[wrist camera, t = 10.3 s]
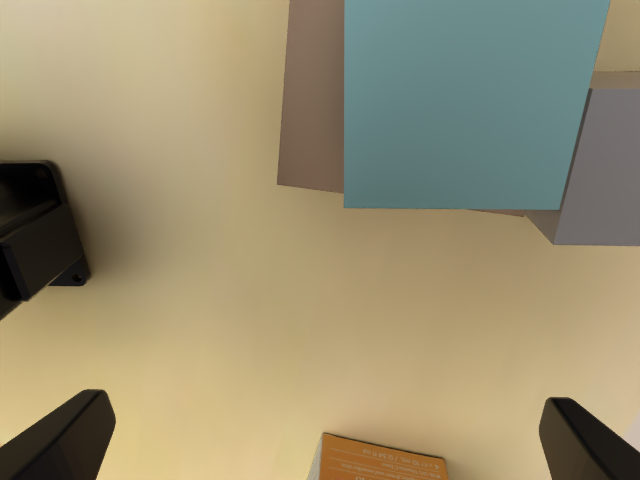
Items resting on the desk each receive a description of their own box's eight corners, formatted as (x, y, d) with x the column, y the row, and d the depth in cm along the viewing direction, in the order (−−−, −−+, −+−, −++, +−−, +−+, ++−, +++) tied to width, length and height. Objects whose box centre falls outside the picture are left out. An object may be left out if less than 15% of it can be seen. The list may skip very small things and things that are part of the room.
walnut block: (291, 154, 19) (277, 184, 15) (312, -95, 15) (299, -133, 11) (491, 180, 19) (523, 216, 15) (566, -63, 15) (634, -92, 11)
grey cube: (505, 193, 19) (553, 244, 14) (528, 72, 17) (593, 89, 12) (624, 194, 18) (710, 247, 14) (663, 70, 16) (781, 86, 12)
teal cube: (347, 153, 15) (343, 207, 10) (348, -14, 13) (344, -37, 8) (496, 153, 14) (558, 209, 10) (524, -19, 12) (621, -47, 8)
